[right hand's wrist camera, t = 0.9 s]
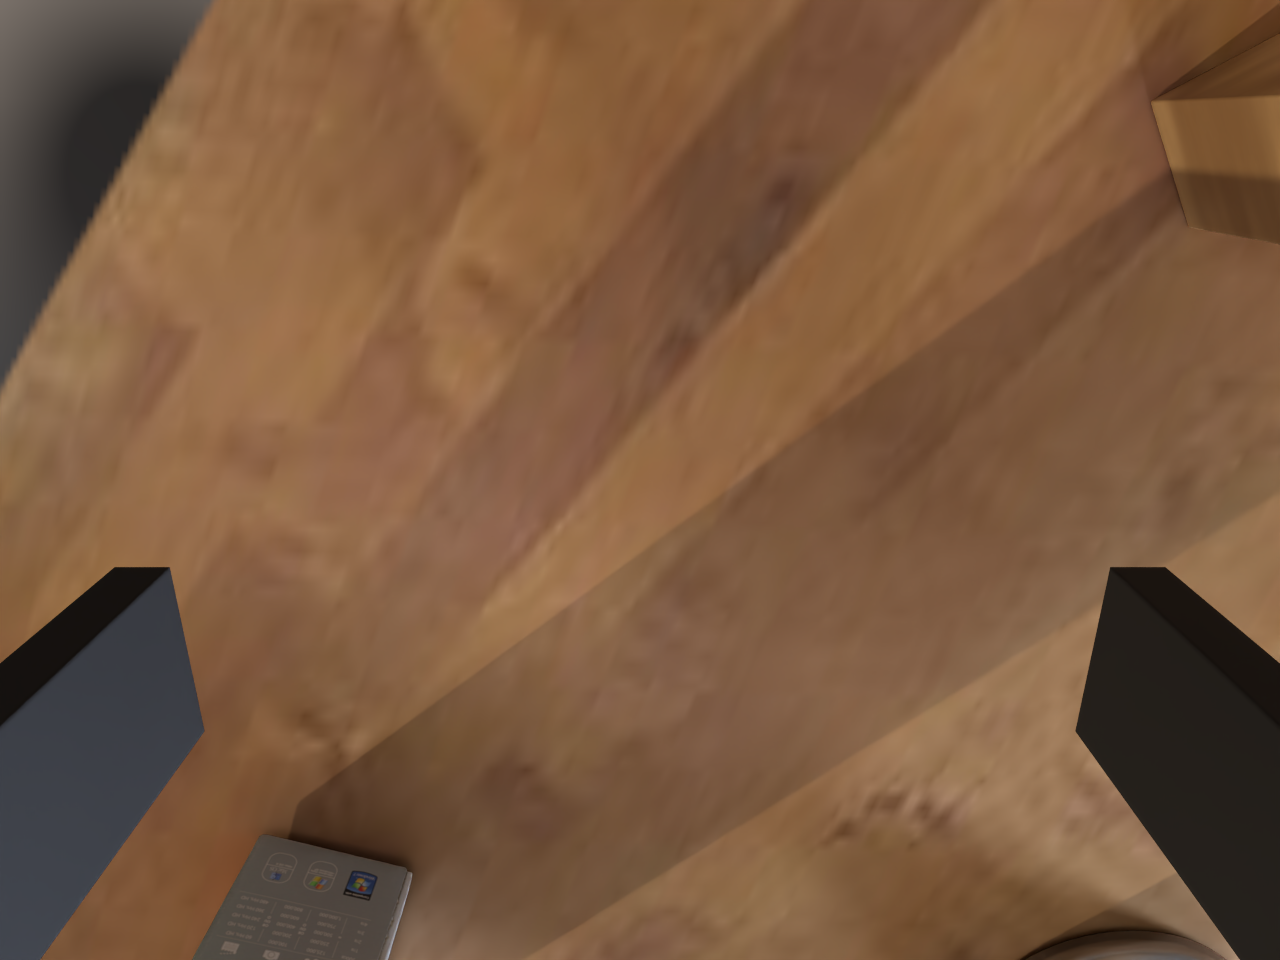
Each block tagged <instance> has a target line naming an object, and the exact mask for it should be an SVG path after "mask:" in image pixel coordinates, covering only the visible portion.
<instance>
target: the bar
mask: <svg viewBox="0 0 1280 960" xmlns="http://www.w3.org/2000/svg"><path fill="white" fill-rule="evenodd" d="M1151 105H1152V109H1153V112H1154V115H1155V118H1156V122H1157V125H1158V128H1159V132H1160V135H1161V138H1162V141H1163V145H1164V148H1165V151H1166V155H1167V158H1168V161H1169V164H1170V168H1171V171H1172V174H1173V178H1174V181H1175V184H1176V187H1177V191H1178V194H1179V197H1180V201H1181V204H1182V207H1183V210H1184V214H1185V217H1186V220H1187V224H1188V226H1189V227H1190V228H1195V229H1200V230H1206V231H1211V232H1216V233H1222V234H1227V235H1232V236H1238V237H1243V238H1249V239H1254V240H1259V241H1265V242H1270V243H1275V244H1280V34H1278V35H1276V36H1274V37H1272V38H1270V39H1268V40H1266V41H1264V42H1262V43H1260V44H1259V45H1257V46H1255V47H1253V48H1251V49H1249V50H1247V51H1245V52H1243V53H1241V54H1239V55H1238V56H1236V57H1234V58H1232V59H1230V60H1228V61H1226V62H1224V63H1222V64H1220V65H1218V66H1217V67H1215V68H1213V69H1211V70H1209V71H1207V72H1205V73H1203V74H1201V75H1199V76H1198V77H1196V78H1194V79H1192V80H1190V81H1188V82H1186V83H1184V84H1182V85H1180V86H1178V87H1177V88H1175V89H1173V90H1171V91H1169V92H1167V93H1165V94H1163V95H1161V96H1159V97H1157V98H1156V99H1154V100H1152V101H1151Z"/></svg>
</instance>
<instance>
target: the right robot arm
mask: <svg viewBox="0 0 1280 960" xmlns="http://www.w3.org/2000/svg"><path fill="white" fill-rule="evenodd" d="M203 733H204V726H203V722H202V717H201V712H200V708H199V703H198V698H197V693H196V689H195V684H194V679H193V675H192V670H191V665H190V661H189V656H188V651H187V647H186V642H185V637H184V632H183V628H182V623H181V618H180V614H179V609H178V604H177V600H176V595H175V590H174V585H173V581H172V576H171V571H170V567H115V568H113V569H112V570H111V571H110V572H109V573H107V574H106V575H105V576H104V577H103V578H101V579H100V580H99V581H98V582H97V583H95V584H94V585H93V586H92V587H91V588H90V589H88V590H87V591H86V592H85V593H84V594H82V595H81V596H80V597H79V598H78V599H76V600H75V601H74V602H73V603H72V604H70V605H69V606H68V607H67V608H66V609H64V610H63V611H62V612H61V613H60V614H59V615H57V616H56V617H55V618H54V619H53V620H51V621H50V622H49V623H48V624H47V625H45V626H44V627H43V628H42V629H41V630H39V631H38V632H37V633H36V634H35V635H34V636H32V637H31V638H30V639H29V640H28V641H26V642H25V643H24V644H23V645H22V646H20V647H19V648H18V649H17V650H16V651H14V652H13V653H12V654H11V655H10V656H9V657H7V658H6V659H5V660H4V661H3V662H1V663H0V960H40V959H41V958H42V956H43V955H44V953H45V952H46V951H47V949H48V948H49V946H50V945H51V944H52V942H53V941H54V940H55V938H56V937H57V935H58V934H59V933H60V931H61V930H62V928H63V927H64V926H65V924H66V923H67V921H68V920H69V919H70V917H71V916H72V915H73V913H74V912H75V910H76V909H77V908H78V906H79V905H80V903H81V902H82V901H83V899H84V898H85V896H86V895H87V894H88V892H89V891H90V890H91V888H92V887H93V885H94V884H95V883H96V881H97V880H98V878H99V877H100V876H101V874H102V873H103V871H104V870H105V869H106V867H107V866H108V865H109V863H110V862H111V860H112V859H113V858H114V856H115V855H116V853H117V852H118V851H119V849H120V848H121V846H122V845H123V844H124V842H125V841H126V840H127V838H128V837H129V835H130V834H131V833H132V831H133V830H134V828H135V827H136V826H137V824H138V823H139V821H140V820H141V819H142V817H143V816H144V815H145V813H146V812H147V810H148V809H149V808H150V806H151V805H152V803H153V802H154V801H155V799H156V798H157V796H158V795H159V794H160V792H161V791H162V790H163V788H164V787H165V785H166V784H167V783H168V781H169V780H170V778H171V777H172V776H173V774H174V773H175V771H176V770H177V769H178V767H179V766H180V765H181V763H182V762H183V760H184V759H185V758H186V756H187V755H188V753H189V752H190V751H191V749H192V748H193V746H194V745H195V744H196V742H197V741H198V740H199V738H200V737H201V735H202V734H203ZM1076 733H1077V734H1078V735H1079V737H1080V738H1081V739H1082V741H1083V742H1084V744H1085V745H1086V746H1087V748H1088V749H1089V751H1090V752H1091V753H1092V755H1093V756H1094V758H1095V759H1096V760H1097V762H1098V763H1099V765H1100V766H1101V767H1102V769H1103V770H1104V771H1105V773H1106V774H1107V776H1108V777H1109V778H1110V780H1111V781H1112V783H1113V784H1114V785H1115V787H1116V788H1117V790H1118V791H1119V792H1120V794H1121V795H1122V796H1123V798H1124V799H1125V801H1126V802H1127V803H1128V805H1129V806H1130V808H1131V809H1132V810H1133V812H1134V813H1135V815H1136V816H1137V817H1138V819H1139V820H1140V821H1141V823H1142V824H1143V826H1144V827H1145V828H1146V830H1147V831H1148V833H1149V834H1150V835H1151V837H1152V838H1153V840H1154V841H1155V842H1156V844H1157V845H1158V846H1159V848H1160V849H1161V851H1162V852H1163V853H1164V855H1165V856H1166V858H1167V859H1168V860H1169V862H1170V863H1171V865H1172V866H1173V867H1174V869H1175V870H1176V871H1177V873H1178V874H1179V876H1180V877H1181V878H1182V880H1183V881H1184V883H1185V884H1186V885H1187V887H1188V888H1189V890H1190V891H1191V892H1192V894H1193V895H1194V896H1195V898H1196V899H1197V901H1198V902H1199V903H1200V905H1201V906H1202V908H1203V909H1204V910H1205V912H1206V913H1207V915H1208V916H1209V917H1210V919H1211V920H1212V921H1213V923H1214V924H1215V926H1216V927H1217V928H1218V930H1219V931H1220V933H1221V934H1222V935H1223V937H1224V938H1225V940H1226V941H1227V942H1228V944H1229V945H1230V946H1231V948H1232V949H1233V951H1234V952H1235V953H1236V955H1237V956H1238V958H1239V959H1240V960H1280V663H1279V662H1277V661H1276V660H1275V659H1274V658H1273V657H1271V656H1270V655H1269V654H1268V653H1267V652H1266V651H1264V650H1263V649H1262V648H1261V647H1260V646H1258V645H1257V644H1256V643H1255V642H1254V641H1252V640H1251V639H1250V638H1249V637H1248V636H1246V635H1245V634H1244V633H1243V632H1242V631H1241V630H1239V629H1238V628H1237V627H1236V626H1235V625H1233V624H1232V623H1231V622H1230V621H1229V620H1227V619H1226V618H1225V617H1224V616H1223V615H1221V614H1220V613H1219V612H1218V611H1217V610H1216V609H1214V608H1213V607H1212V606H1211V605H1210V604H1208V603H1207V602H1206V601H1205V600H1204V599H1202V598H1201V597H1200V596H1199V595H1198V594H1196V593H1195V592H1194V591H1193V590H1192V589H1190V588H1189V587H1188V586H1187V585H1186V584H1185V583H1183V582H1182V581H1181V580H1180V579H1179V578H1177V577H1176V576H1175V575H1174V574H1173V573H1171V572H1170V571H1169V570H1168V569H1167V568H1165V567H1110V571H1109V576H1108V581H1107V585H1106V590H1105V595H1104V600H1103V604H1102V609H1101V614H1100V618H1099V623H1098V628H1097V632H1096V637H1095V642H1094V647H1093V651H1092V656H1091V661H1090V665H1089V670H1088V675H1087V679H1086V684H1085V689H1084V693H1083V698H1082V703H1081V708H1080V712H1079V717H1078V722H1077V726H1076ZM1025 960H1226V959H1224V958H1223V957H1222V956H1221V955H1219V954H1218V953H1216V952H1215V951H1213V950H1212V949H1210V948H1208V947H1206V946H1204V945H1202V944H1200V943H1197V942H1194V941H1192V940H1189V939H1186V938H1183V937H1179V936H1175V935H1171V934H1165V933H1159V932H1150V931H1116V932H1107V933H1099V934H1094V935H1089V936H1084V937H1080V938H1076V939H1072V940H1069V941H1066V942H1063V943H1060V944H1057V945H1055V946H1052V947H1050V948H1047V949H1045V950H1043V951H1041V952H1039V953H1037V954H1035V955H1033V956H1031V957H1029V958H1027V959H1025Z"/></svg>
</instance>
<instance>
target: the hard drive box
mask: <svg viewBox="0 0 1280 960" xmlns="http://www.w3.org/2000/svg"><path fill="white" fill-rule="evenodd" d="M411 879H412V872H408V871H407V869H406V868H405V867H402V866H396V865H392V864H389V863H385V862H381V861H376V860H372V859H368V858H363V857H359V856H355V855H351V854H347V853H342V852H338V851H334V850H330V849H325V848H321V847H317V846H313V845H309V844H305V843H300V842H296V841H292V840H288V839H284V838H279V837H275V836H271V835H264V834H263V835H261V836H259V838H258V840H257V842H256V844H255V845H254V847H253V849H252V851H251V853H250V855H249V856H248V858H247V860H246V862H245V864H244V865H243V867H242V869H241V871H240V873H239V874H238V876H237V878H236V880H235V882H234V883H233V885H232V887H231V889H230V891H229V892H228V894H227V896H226V898H225V900H224V901H223V903H222V905H221V907H220V909H219V911H218V913H217V915H216V916H215V918H214V920H213V922H212V924H211V926H210V928H209V929H208V931H207V933H206V935H205V937H204V938H203V940H202V942H201V944H200V946H199V948H198V949H197V951H196V953H195V955H194V957H193V959H192V960H388V958H389V954H390V951H391V948H392V944H393V941H394V938H395V935H396V931H397V928H398V925H399V922H400V918H401V915H402V912H403V909H404V905H405V902H406V898H407V895H408V891H409V887H410V884H411Z"/></svg>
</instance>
